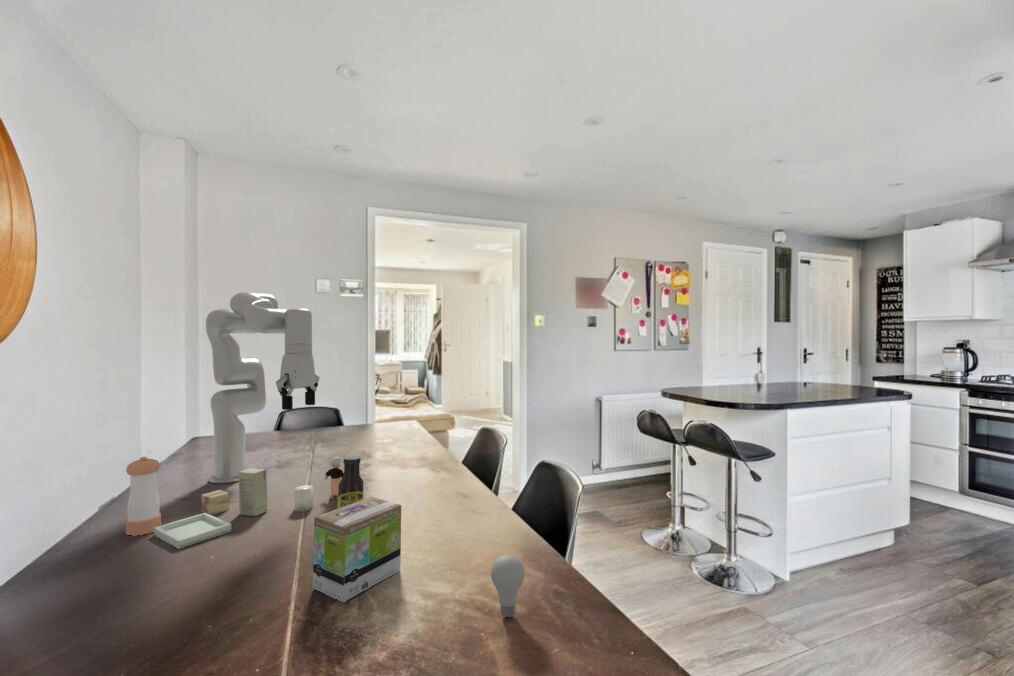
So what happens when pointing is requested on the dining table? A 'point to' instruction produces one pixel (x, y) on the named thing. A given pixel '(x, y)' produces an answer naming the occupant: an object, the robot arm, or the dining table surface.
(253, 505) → the skincare box
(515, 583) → the lightbulb
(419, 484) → the dining table surface
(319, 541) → the tea box
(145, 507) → the salt shaker
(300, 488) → the cream cylinder
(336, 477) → the grandmother figurine
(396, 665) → the dining table surface
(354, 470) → the sauce bottle
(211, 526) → the tray
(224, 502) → the beech block
